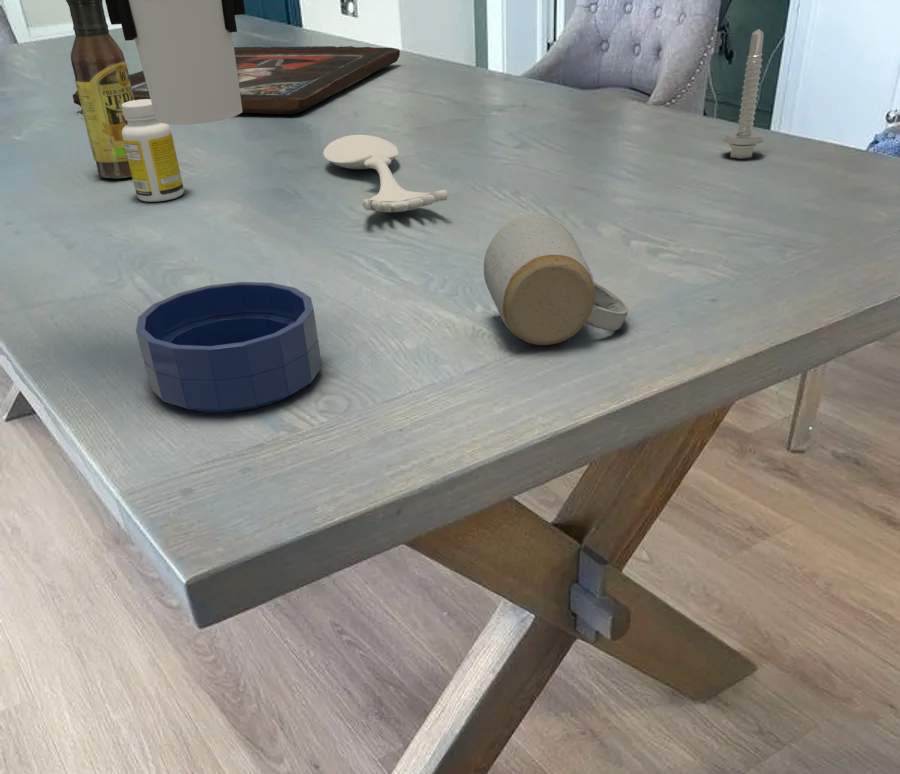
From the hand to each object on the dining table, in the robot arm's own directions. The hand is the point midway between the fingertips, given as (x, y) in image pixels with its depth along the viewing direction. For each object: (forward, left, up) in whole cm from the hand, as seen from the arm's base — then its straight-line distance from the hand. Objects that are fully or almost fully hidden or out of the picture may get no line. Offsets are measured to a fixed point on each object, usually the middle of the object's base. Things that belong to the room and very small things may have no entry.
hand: (181, 30), depth 60 cm
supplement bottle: (-39, +28, -22) cm, 53 cm away
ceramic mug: (+20, +15, -22) cm, 33 cm away
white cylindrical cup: (0, 0, -5) cm, 5 cm away
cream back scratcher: (-17, +41, -22) cm, 49 cm away
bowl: (+4, -4, -21) cm, 22 cm away
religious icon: (-76, +82, -22) cm, 114 cm away
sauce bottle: (-51, +33, -22) cm, 65 cm away
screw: (+15, +70, -22) cm, 74 cm away
